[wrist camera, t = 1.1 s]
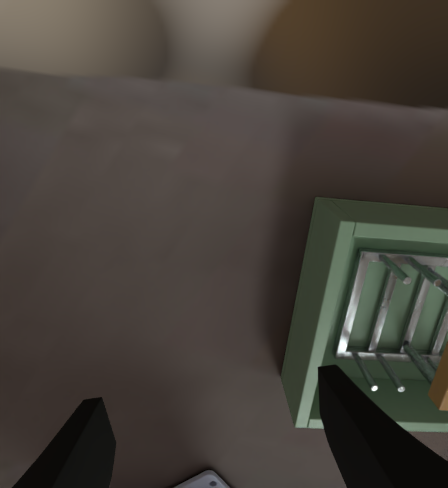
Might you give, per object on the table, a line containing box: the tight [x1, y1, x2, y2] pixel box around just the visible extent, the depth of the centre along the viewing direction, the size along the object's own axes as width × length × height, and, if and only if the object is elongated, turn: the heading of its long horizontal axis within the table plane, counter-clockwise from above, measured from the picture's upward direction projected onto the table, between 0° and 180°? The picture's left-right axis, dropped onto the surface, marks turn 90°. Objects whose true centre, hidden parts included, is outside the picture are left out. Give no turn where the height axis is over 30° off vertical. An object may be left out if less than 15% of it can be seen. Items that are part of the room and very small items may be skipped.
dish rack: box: [332, 247, 448, 411], centre depth 21 cm, size 8×7×5 cm
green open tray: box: [281, 197, 448, 432], centre depth 22 cm, size 14×12×4 cm
